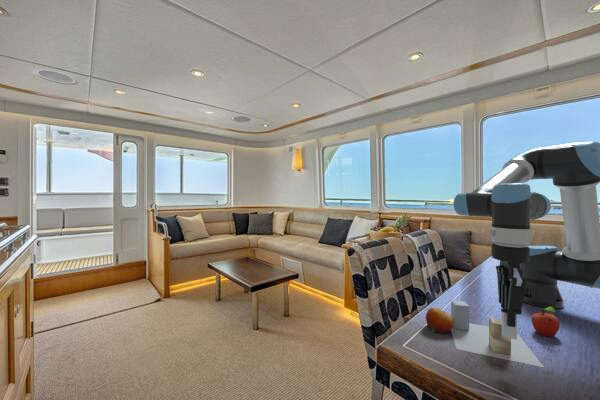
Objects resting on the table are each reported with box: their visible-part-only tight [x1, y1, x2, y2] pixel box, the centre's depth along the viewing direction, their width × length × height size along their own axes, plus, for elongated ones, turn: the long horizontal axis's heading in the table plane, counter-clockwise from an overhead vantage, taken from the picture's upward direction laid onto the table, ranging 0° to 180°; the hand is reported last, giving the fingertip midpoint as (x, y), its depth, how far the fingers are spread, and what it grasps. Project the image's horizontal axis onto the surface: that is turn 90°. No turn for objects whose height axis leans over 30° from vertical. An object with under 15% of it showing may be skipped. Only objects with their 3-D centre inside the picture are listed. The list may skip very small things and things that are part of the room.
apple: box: [531, 307, 561, 338], centre depth 79 cm, size 8×7×10 cm
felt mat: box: [450, 322, 545, 368], centre depth 76 cm, size 19×19×1 cm
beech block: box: [488, 316, 511, 355], centre depth 71 cm, size 4×4×8 cm
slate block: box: [450, 299, 470, 331], centre depth 83 cm, size 4×4×8 cm
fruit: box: [425, 307, 454, 334], centre depth 82 cm, size 8×8×8 cm
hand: (509, 336), depth 65 cm, fingers closed
